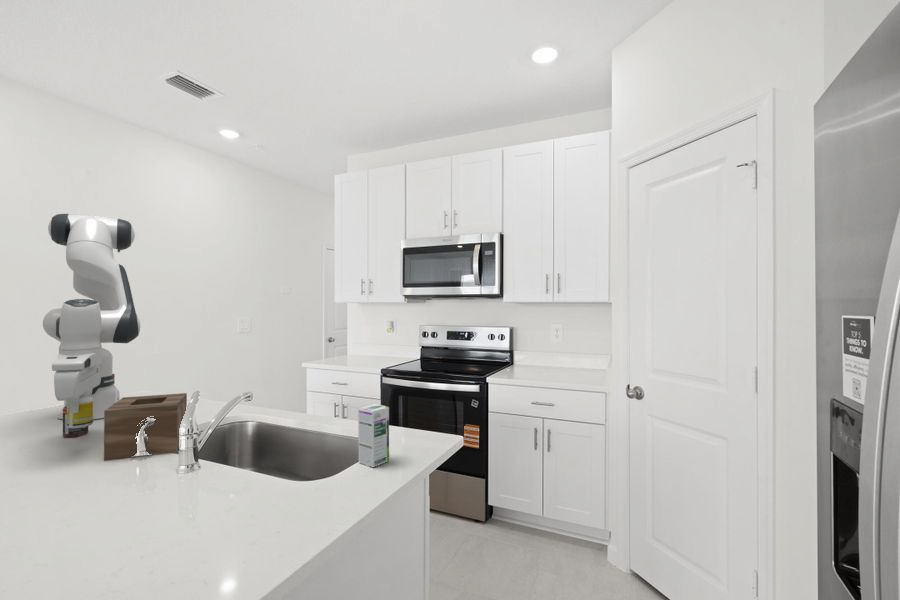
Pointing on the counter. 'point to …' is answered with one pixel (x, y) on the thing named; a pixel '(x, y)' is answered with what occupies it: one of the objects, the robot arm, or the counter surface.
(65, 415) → the supplement bottle
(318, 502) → the counter surface
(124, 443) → the box
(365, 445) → the syrup box
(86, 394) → the supplement bottle
